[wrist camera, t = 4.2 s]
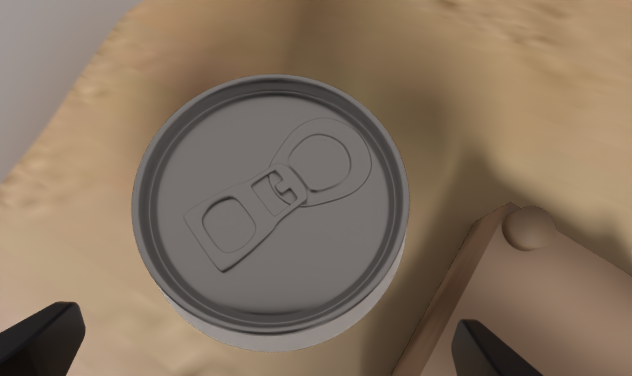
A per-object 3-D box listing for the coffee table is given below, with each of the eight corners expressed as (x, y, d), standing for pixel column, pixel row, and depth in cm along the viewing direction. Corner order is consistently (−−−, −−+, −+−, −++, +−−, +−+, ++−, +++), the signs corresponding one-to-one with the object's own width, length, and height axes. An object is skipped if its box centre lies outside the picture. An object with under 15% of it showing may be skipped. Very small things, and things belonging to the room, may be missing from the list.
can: (376, 277, 18) (496, 215, 7) (275, 362, 17) (226, 457, 6) (301, 185, 20) (303, 15, 9) (203, 255, 18) (49, 158, 7)
